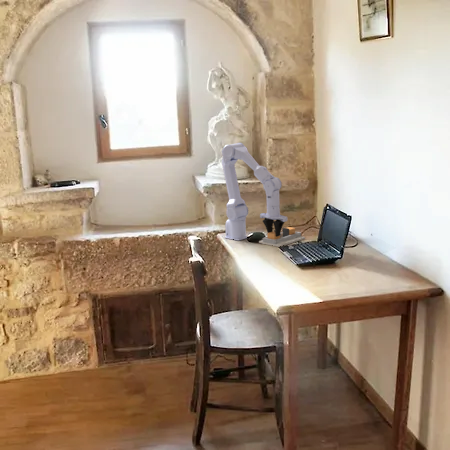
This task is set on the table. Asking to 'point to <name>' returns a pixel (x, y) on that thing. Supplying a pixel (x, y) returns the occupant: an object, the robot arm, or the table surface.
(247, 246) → the table surface
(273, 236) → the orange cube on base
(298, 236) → the grey frame base
